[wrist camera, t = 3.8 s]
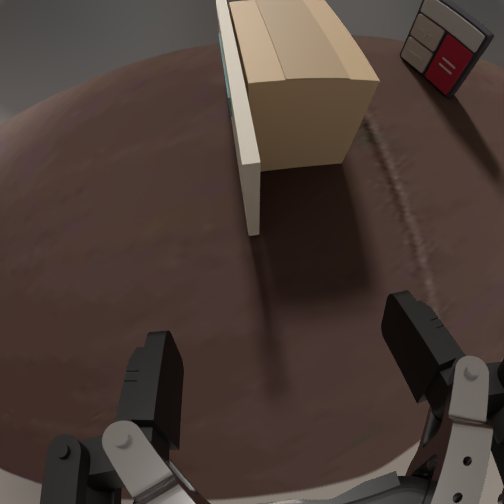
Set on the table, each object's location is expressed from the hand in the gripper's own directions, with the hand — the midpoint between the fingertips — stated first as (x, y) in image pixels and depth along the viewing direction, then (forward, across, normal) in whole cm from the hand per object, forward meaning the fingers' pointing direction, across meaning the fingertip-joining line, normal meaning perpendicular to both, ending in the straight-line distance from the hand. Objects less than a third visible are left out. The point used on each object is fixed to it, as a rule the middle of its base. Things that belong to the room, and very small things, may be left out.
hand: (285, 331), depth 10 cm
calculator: (+35, +32, +12) cm, 49 cm away
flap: (+25, 0, +2) cm, 25 cm away
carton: (+28, +6, +4) cm, 29 cm away
